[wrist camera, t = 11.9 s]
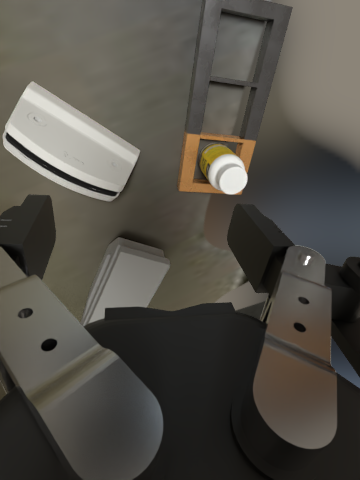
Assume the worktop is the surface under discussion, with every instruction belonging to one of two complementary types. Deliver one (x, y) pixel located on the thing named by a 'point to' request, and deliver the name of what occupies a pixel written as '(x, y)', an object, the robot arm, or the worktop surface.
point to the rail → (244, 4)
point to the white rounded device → (68, 145)
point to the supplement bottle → (222, 168)
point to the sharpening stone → (125, 278)
